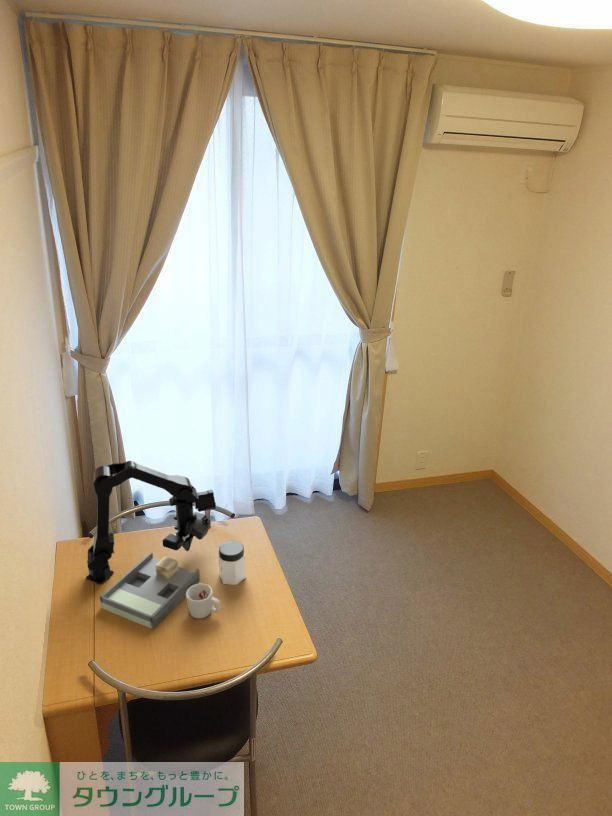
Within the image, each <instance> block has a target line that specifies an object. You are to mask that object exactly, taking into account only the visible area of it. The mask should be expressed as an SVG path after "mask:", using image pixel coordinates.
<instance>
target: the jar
mask: <svg viewBox="0 0 612 816" xmlns="http://www.w3.org/2000/svg"><path fill="white" fill-rule="evenodd" d="M218 571H219V572H218V574H219V578H220V579H221V582H222V584H225V585H233V586H237V585H238V584H239V583H240V582H242V581H243V580H244V579H246V555H245V547H244V544H243V543H242V542H241V541H238V540H233V539H232V540H231V539H230V540H227V541H224V542H222V543H221V544H220V545H219V547H218Z"/></svg>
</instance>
